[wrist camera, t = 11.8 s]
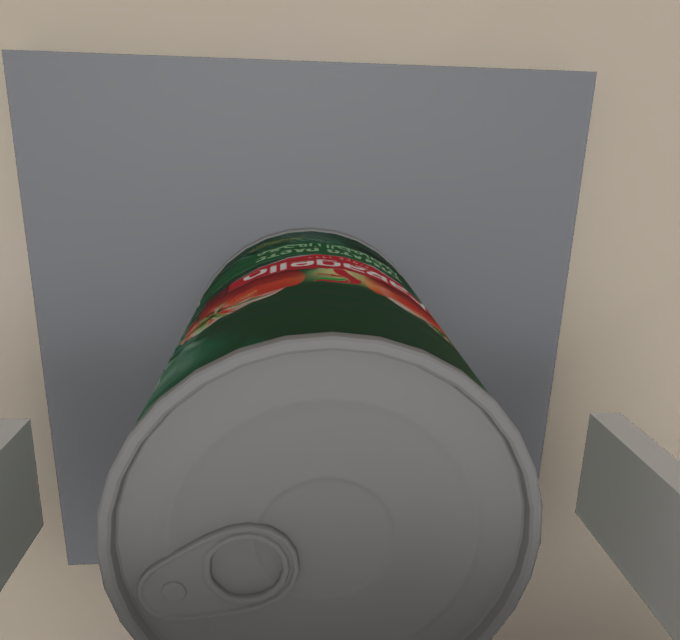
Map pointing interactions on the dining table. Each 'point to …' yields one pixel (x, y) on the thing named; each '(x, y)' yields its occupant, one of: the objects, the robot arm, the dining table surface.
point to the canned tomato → (317, 466)
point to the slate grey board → (282, 215)
